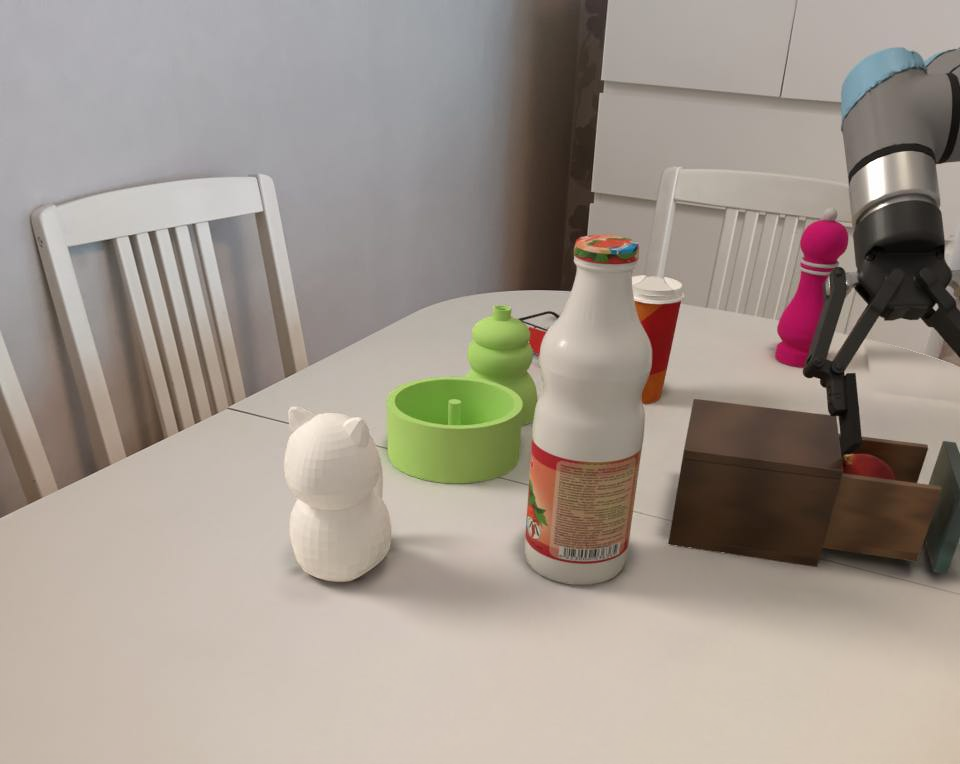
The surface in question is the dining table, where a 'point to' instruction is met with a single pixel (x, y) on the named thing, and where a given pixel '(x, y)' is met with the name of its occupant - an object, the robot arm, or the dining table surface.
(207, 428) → the dining table surface
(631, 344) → the fruit juice
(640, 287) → the paper cup
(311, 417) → the cat figurine
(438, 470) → the green round pieces
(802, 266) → the pepper mill
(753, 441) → the drawer cabinet
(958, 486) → the wooden drawer
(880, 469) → the onion
